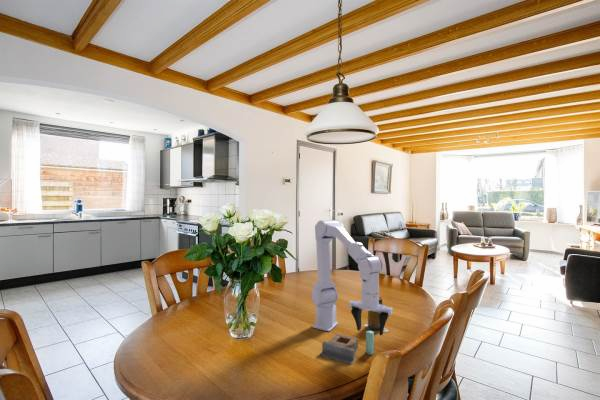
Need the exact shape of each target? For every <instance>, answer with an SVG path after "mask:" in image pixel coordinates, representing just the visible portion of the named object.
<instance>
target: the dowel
mask: <svg viewBox="0 0 600 400" xmlns="http://www.w3.org/2000/svg"><path fill="white" fill-rule="evenodd" d="M365 341H366V342H365V353H366V354H367V355H370V356H371V355H374V354H373V353H375V352H374V349H375V345H374V344H375V333H374V332H373V331H370V330H367V331H365Z"/></svg>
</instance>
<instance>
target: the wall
mask: <svg viewBox="0 0 600 400" xmlns="http://www.w3.org/2000/svg"><path fill="white" fill-rule="evenodd" d="M321 347H322V349H321V350H322V351H321V352H320V353H319V357H324V358H326V359H327V358H328V359H331V360H335V361H338V362H341V363H344V364H348V365H352V364H353V363H354V361H355V354H356V352H355V349H352V348H348V347H344V346H340V345H336V344H333V343H329V341H328V342H327V341H322V343H321Z"/></svg>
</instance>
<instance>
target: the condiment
mask: <svg viewBox="0 0 600 400" xmlns="http://www.w3.org/2000/svg"><path fill="white" fill-rule="evenodd" d="M379 304H380V305H383V298H382V297H380V296H379ZM380 314H381V313H380V312H374V311H367V323H365V324H363V326H364V327H366V329H368V331H373V332H374V334H377V333H379V330H380V322H379V315H380ZM388 332H390V330H389V329H388V328H386V327H385V326H384V330H383V333H388Z"/></svg>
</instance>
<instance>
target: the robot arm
mask: <svg viewBox="0 0 600 400" xmlns="http://www.w3.org/2000/svg"><path fill="white" fill-rule="evenodd" d="M314 233H315V234H314V235H315V243H316V245H315V247H316V264H317V266H316V267H317V281H316V282H315V284H313V286H312V293H311V301H312V303H313V305H314V306H315V323H314V324H313V325H312V326H311V328H312V329H313V328H314V329H317V330H321V331H326V332H331V331H333V329H334V328H335V327H336V326H337V325H338V324H339V321H337V306H336V302H337V301H338V299H339V295H338V294H339V293H338V291H337V285H336V284H335V283H334V282H333V281H332V275H331V274H332V273H331V257H330V256H331V255H330V253H331V252H330V242H331V241H333V239H335V238H337V240H338V241H340V242H341V243H342V244H343V245H344V246H345V247H346V248H347V253H348V255H349V256H350V257H351V258H352V259H353V261H355V263H357V268H358V271H359V275H360V279H361V301H359V300H356V301H355V300H350V301H349V302H348V308H350V309H351V310H350V312H351V316H352V317H353V319H354V321H355V326H356V329H357V331H361V329H362V314H363V313H362V312H363V310H364V311H367V312H368V311H374V312H380V313H381V314H380V315H379V322H380V330H379V336H382V335H383V334H384V332H383V330H384V327H385V326H386V323H387V320H388V318H389V316H392V314H393V307H392V306H391V307H390V306H386V305H383V304H382V305H380V304H379V297H380V273H381V272H382V270H383V267H384V266H383V265H384V264H383V261H382V259H381V258H380V257H379V255H374V254H372V253H371V252H370V251H369V250H368V249H367V248H366V247H365V246H364V244H363V243H362V242H359V241H355V240H354V239H353V237H351V235H350V234H349V232H348V231H346V229H345V224H344V223H342V221H341V220H339V219H333V220H331V219H329V220H318V221H317V222H316V224H315V225H314Z"/></svg>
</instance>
